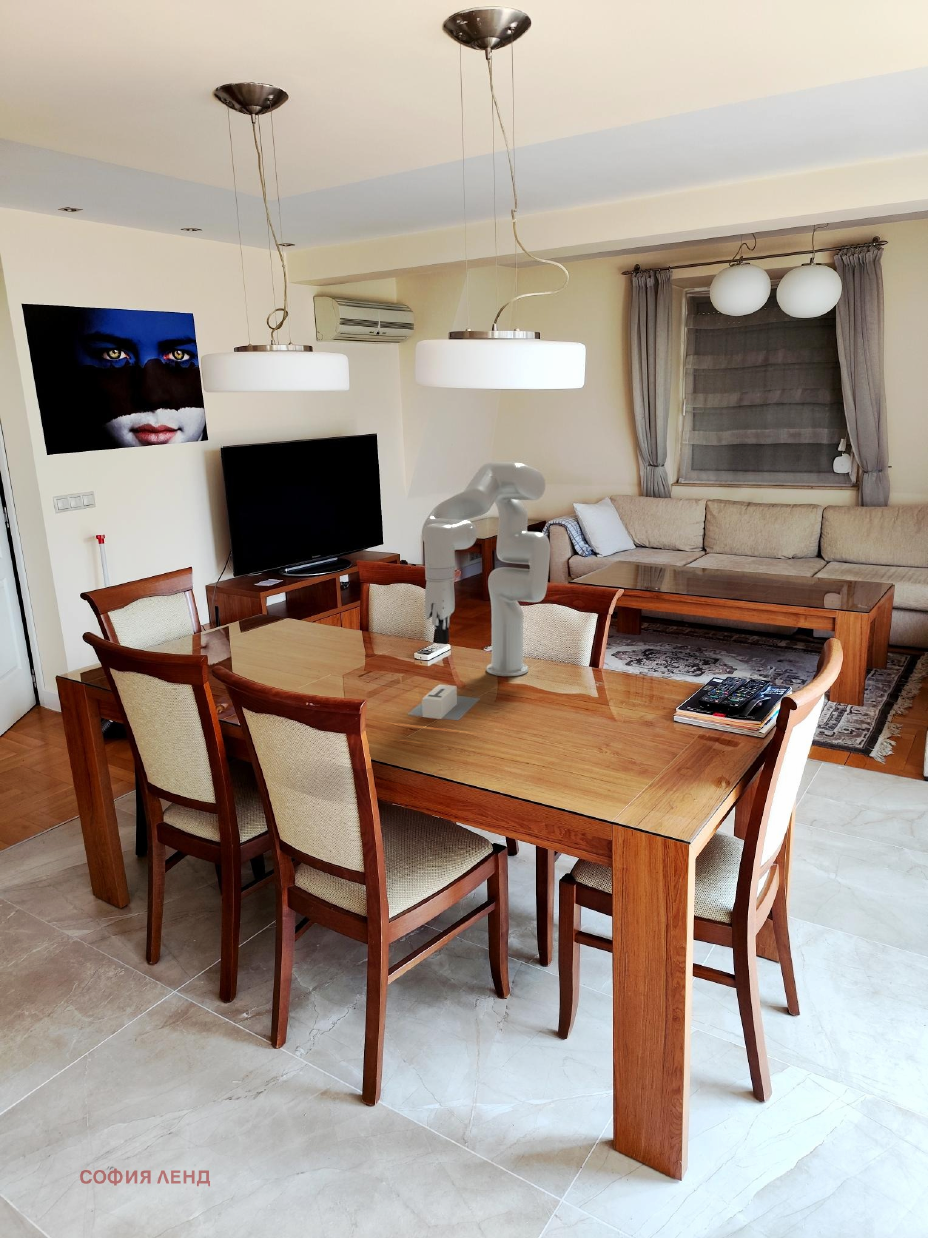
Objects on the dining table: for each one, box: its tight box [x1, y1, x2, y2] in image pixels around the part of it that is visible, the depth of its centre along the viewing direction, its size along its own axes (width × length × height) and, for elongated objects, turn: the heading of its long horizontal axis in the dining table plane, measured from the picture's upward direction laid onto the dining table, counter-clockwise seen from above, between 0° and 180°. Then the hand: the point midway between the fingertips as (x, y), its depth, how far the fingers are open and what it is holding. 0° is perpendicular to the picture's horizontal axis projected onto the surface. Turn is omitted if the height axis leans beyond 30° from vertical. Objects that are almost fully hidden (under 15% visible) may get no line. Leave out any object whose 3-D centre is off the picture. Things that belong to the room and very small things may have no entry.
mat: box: [407, 695, 481, 721], centre depth 223 cm, size 18×14×1 cm
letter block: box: [421, 684, 458, 720], centre depth 220 cm, size 5×5×12 cm
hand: (442, 642), depth 218 cm, fingers closed
